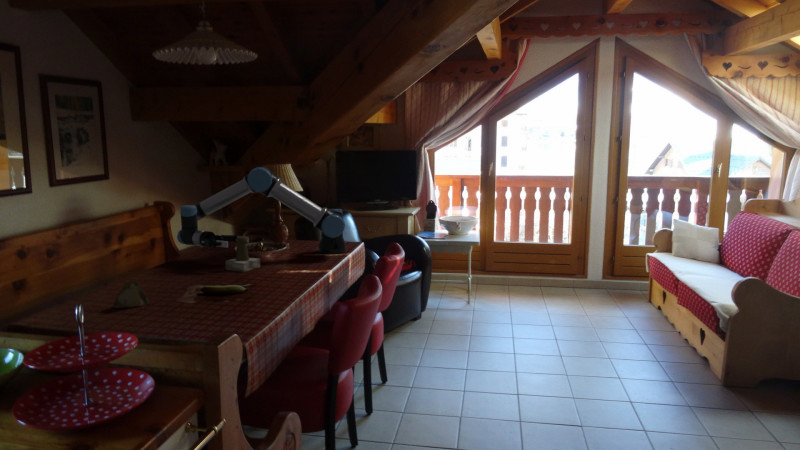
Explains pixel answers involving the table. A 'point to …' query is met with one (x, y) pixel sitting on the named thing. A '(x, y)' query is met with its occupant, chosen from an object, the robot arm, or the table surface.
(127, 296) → the rock
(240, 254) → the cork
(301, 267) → the table surface
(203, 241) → the robot arm
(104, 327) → the table surface
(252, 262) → the white stand
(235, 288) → the brown green uneven piece
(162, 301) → the table surface
